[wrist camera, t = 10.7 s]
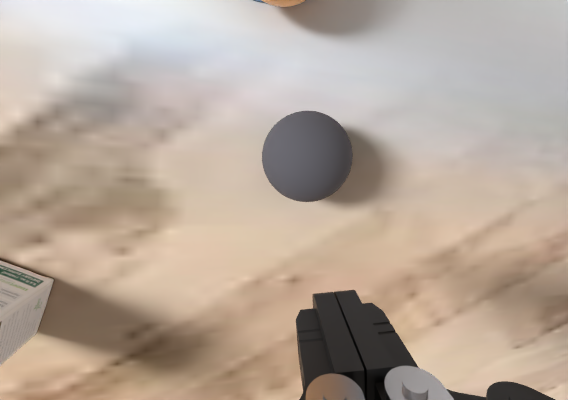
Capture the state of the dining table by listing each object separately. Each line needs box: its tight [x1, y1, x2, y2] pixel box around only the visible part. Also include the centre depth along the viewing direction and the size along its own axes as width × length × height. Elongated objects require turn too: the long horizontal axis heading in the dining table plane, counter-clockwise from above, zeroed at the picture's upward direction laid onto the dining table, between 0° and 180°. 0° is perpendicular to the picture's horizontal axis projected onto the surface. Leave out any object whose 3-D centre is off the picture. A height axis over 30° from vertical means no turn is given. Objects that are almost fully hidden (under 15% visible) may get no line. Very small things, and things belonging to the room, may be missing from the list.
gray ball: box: [262, 111, 352, 202], centre depth 20 cm, size 6×6×6 cm
